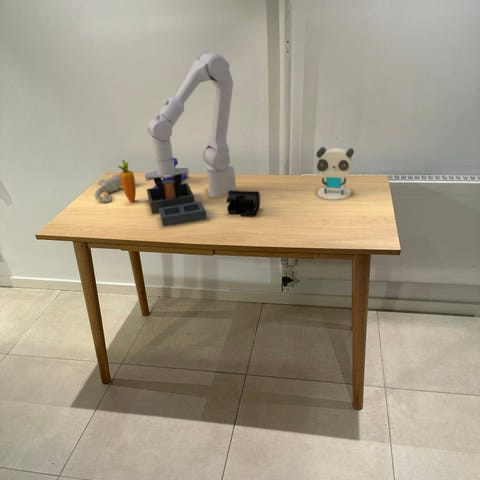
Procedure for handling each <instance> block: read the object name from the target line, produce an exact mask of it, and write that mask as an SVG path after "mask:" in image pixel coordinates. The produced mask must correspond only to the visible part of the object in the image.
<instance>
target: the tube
mask: <svg viewBox="0 0 480 480" xmlns="http://www.w3.org/2000/svg"><path fill="white" fill-rule="evenodd" d="M162 184H163V190H164V195H165V199H171V198H176V191H175V184H174V181H172V180H167V181H164V182H163V183H162Z"/></svg>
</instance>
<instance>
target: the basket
mask: <svg viewBox="0 0 480 480" xmlns="http://www.w3.org/2000/svg"><path fill="white" fill-rule="evenodd" d="M163 191H164V190H163ZM146 193H147V199H148V203H149V207H150V210H151V215H156V214H157V215H158V214H160V213H159V208H163V207H169V206H175V205H181V204H187V203H194V202H196V200H195V195H194V193H193V191H192V189H191V187H190V185H189V183H188V182H183V183H181V184H180V188H179V197H178V198H171V199H165V200H163V197H162V194H161V192H160V190H159V189H158V187H157V188H153V187H151V188H150V187H149V188H146Z"/></svg>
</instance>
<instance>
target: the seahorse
mask: <svg viewBox="0 0 480 480" xmlns="http://www.w3.org/2000/svg"><path fill="white" fill-rule="evenodd" d="M134 180H136V179H135V178H134ZM97 185H98V186H99V188H97V189H96V190H95V193H94V198H95V200H97V201H98V202H102V203H109V202H111V201H112V200H113V196H112V195H111V193H113V192H118V191H119V190H120V189H121V187H122V184H121V180H120V173H117V174H115V175H113V176H111V177H108V178H107V179H101V180H99V181H98V183H97ZM102 193H103V194H104V193H105V195H104V197H102V196H101V194H102Z"/></svg>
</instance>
